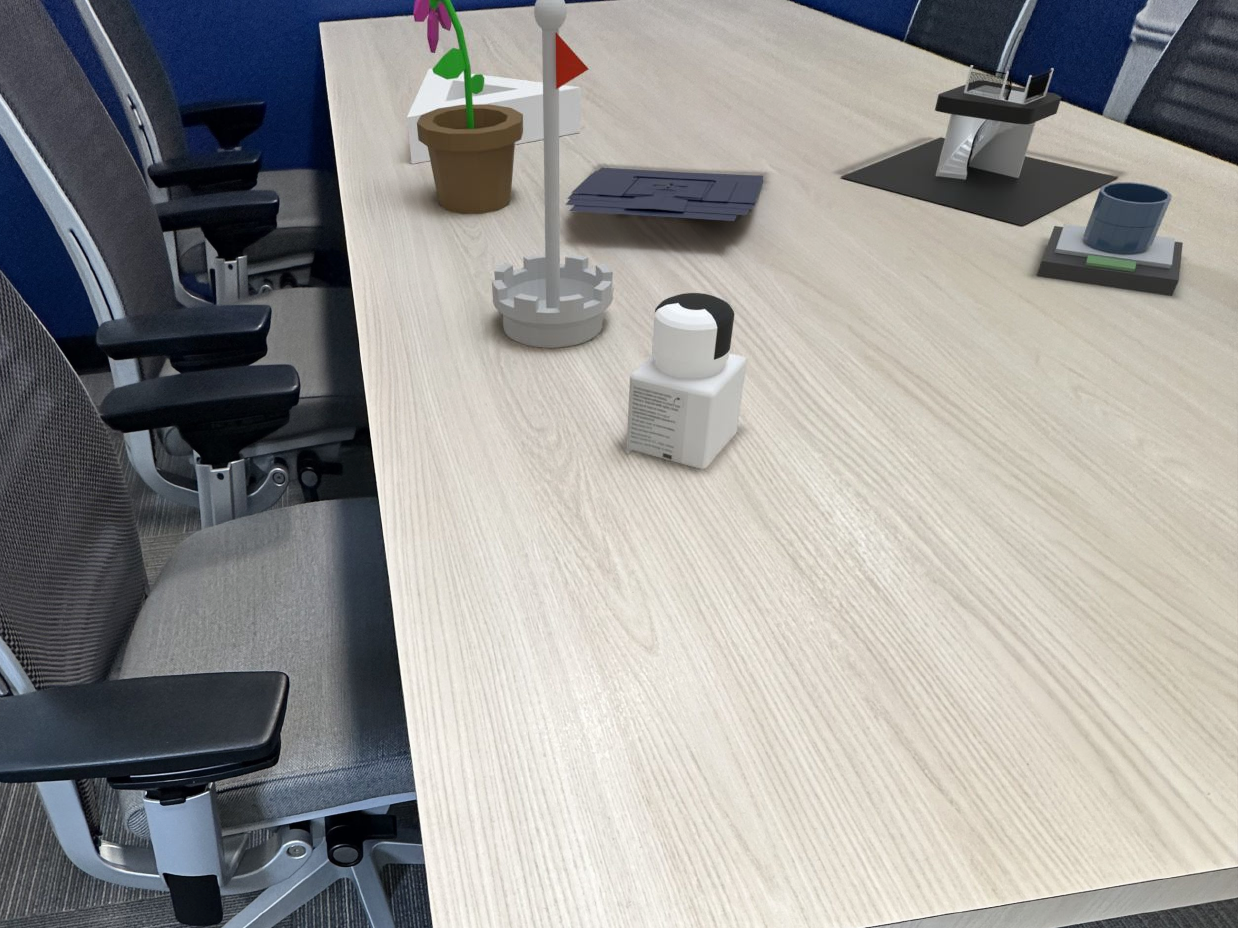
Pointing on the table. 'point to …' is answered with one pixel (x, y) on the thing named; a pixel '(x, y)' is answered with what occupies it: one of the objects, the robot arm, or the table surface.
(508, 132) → the flowerpot
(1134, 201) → the blue cup
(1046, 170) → the black-topped pedestal
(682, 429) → the container
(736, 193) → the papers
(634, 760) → the table surface
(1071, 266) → the scale
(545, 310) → the flag stand
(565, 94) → the triangle block
